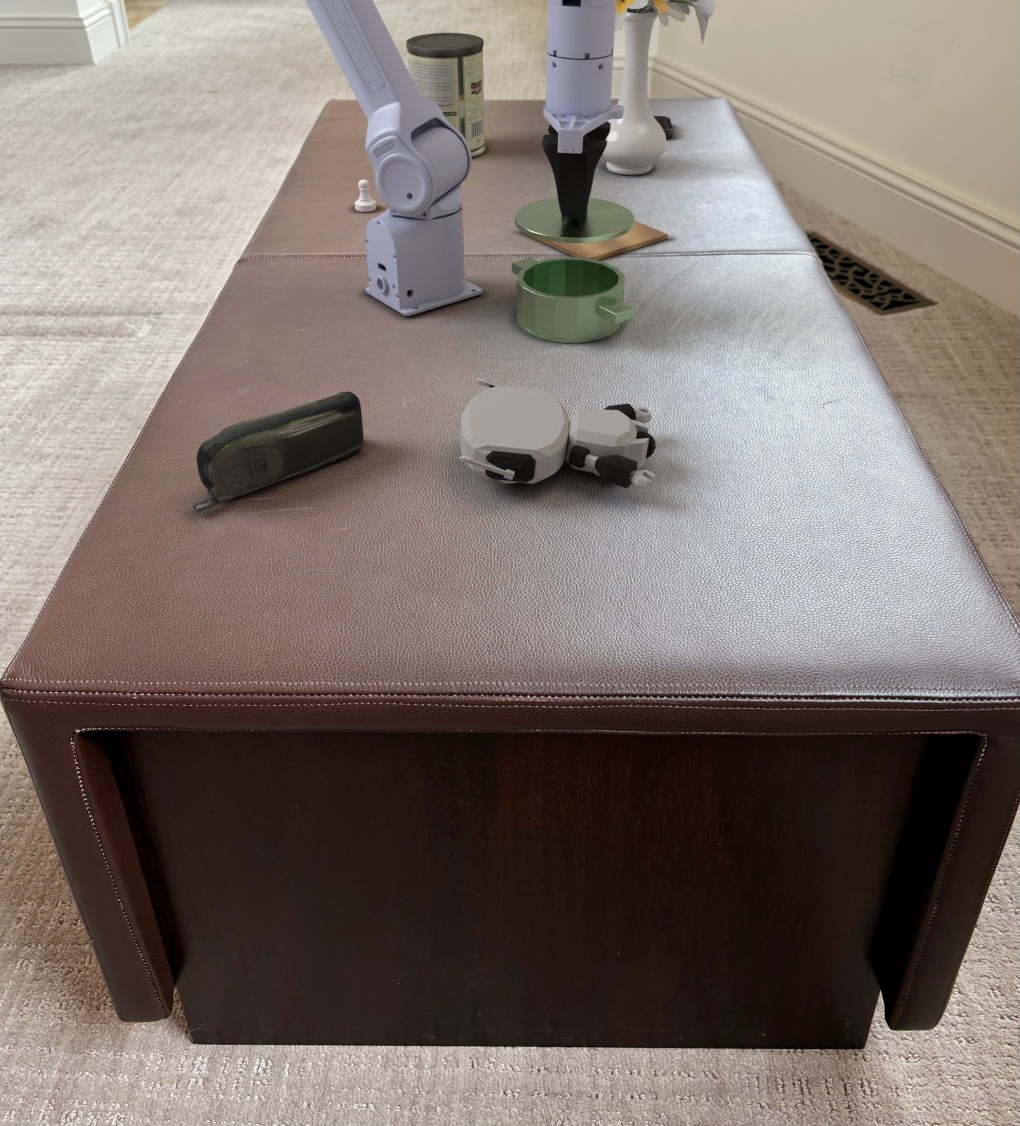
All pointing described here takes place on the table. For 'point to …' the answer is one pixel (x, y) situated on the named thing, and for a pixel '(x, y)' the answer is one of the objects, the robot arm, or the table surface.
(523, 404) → the robot toy
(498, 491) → the table surface
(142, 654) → the table surface
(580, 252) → the trivet
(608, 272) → the pot
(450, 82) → the coffee can
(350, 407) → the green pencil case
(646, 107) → the flower vase
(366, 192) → the chess pawn
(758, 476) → the table surface
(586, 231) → the pot lid
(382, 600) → the table surface
